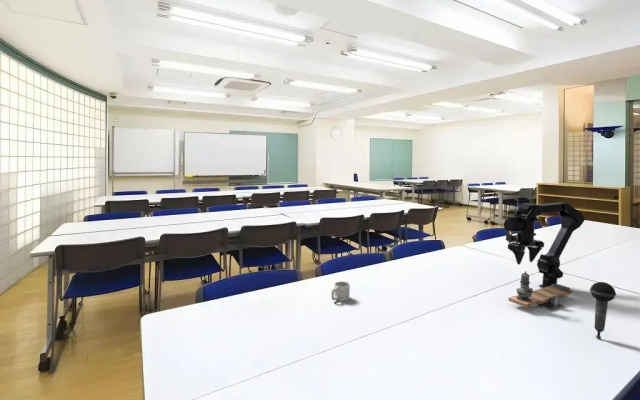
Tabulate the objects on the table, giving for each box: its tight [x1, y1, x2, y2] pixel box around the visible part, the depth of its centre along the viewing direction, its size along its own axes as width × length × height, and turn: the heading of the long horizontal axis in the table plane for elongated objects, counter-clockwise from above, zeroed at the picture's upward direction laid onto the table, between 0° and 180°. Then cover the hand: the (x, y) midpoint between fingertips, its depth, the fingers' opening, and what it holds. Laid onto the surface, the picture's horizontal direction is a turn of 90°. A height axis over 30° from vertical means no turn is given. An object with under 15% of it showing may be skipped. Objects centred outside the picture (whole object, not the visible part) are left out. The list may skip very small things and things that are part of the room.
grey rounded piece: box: [516, 271, 533, 302], centre depth 140 cm, size 6×6×12 cm
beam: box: [507, 283, 574, 309], centre depth 145 cm, size 32×8×2 cm, turn 116°
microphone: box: [589, 281, 617, 340], centre depth 115 cm, size 7×7×20 cm
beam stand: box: [529, 286, 565, 312], centre depth 146 cm, size 8×14×5 cm, turn 26°
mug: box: [330, 280, 351, 302], centre depth 150 cm, size 10×7×7 cm
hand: (524, 263), depth 159 cm, fingers open, 9 cm apart
